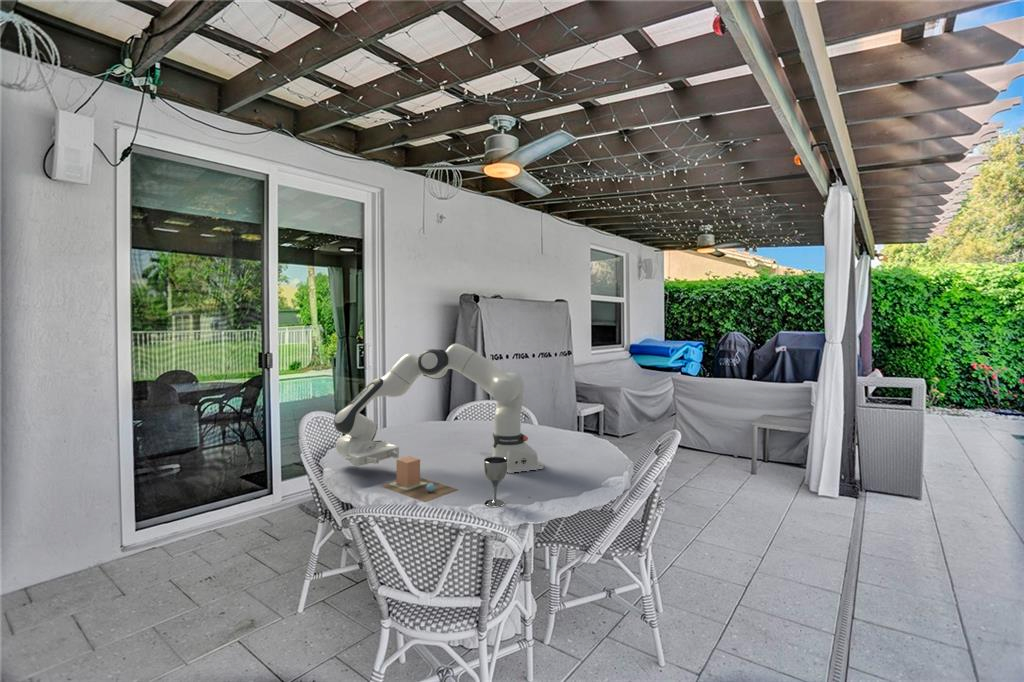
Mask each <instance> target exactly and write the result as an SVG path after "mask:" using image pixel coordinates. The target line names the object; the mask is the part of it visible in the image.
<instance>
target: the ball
mask: <svg viewBox="0 0 1024 682" xmlns="http://www.w3.org/2000/svg"><path fill="white" fill-rule="evenodd" d="M426 489H427V491H429V492H432V491H434V489H435V485H434V484H433V483H429V484H428V485H427V487H426Z"/></svg>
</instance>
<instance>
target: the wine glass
mask: <svg viewBox="0 0 1024 682" xmlns="http://www.w3.org/2000/svg"><path fill="white" fill-rule="evenodd" d="M507 464H508V460H507V459H506V458H504V457H492V456H487V457H485V458H484V459H483V467H484V474H485V477H486V479H487V480H488V481H489V482H490V483H491V485H492V488H493V499H494V500H493V499H489V500H486V501H484V505H485V504H487V505H490V506H501V505H503V504H505V503H506V502H505V501H504V500H502V499H497V492H498V486H499V484H501V482H502V481H503V480H505V477H506V475H507ZM501 500H502V501H501ZM503 501H504V502H505V503H504V502H503ZM505 505H506V504H505Z"/></svg>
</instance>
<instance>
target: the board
mask: <svg viewBox="0 0 1024 682" xmlns="http://www.w3.org/2000/svg"><path fill="white" fill-rule="evenodd" d="M429 483H433V484H434V485H435V489H434V491H432V492H429V491H427V489H426V487H427V485H428V484H429ZM380 487H381V488H384V489H387V490H389V491H393V492H395V493H398V494H401V495H403V496H407V497H409V498H412V499H415V500H418V501H420V502H423V503H426V502H429V501H432V500H436V499H437V498H438V499H439V498H440V497H443V496H445V495H448V494H452V493H454V492H456V491H459V489H458V488H454V487H452V486H448V485H445V484H442V483H439V482H435V481H432V480H429V479H426V478H423V477H420V483H419V484H416V485H413V486H410V487H404V486H401V485H398V484H396V480H395V481H391V482H390V483H385V484H382V485H380Z"/></svg>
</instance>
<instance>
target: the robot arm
mask: <svg viewBox="0 0 1024 682" xmlns="http://www.w3.org/2000/svg"><path fill="white" fill-rule="evenodd" d="M449 370H453V371H456V372H458V373H459V374H460V375H462V376H464V377H465V378H467V379H469V380H470V381H471V382H473V383H475V384H476V385H478V386H479V387H480V388H482V389H483V391H485V392H486V393H487V394H489V395H490V396H491V397H492V398H493V399H494V401H496V404H495V411H494V415H493V416H494V417H493V433H492V455H491V457H504V458H506V459H507V460H508V464H507V472H508V474H515V473H514V472H519V473H522V472H521V471H527V472H530V471H529V470H535V469H541V468H543V469H544V464H543V462H542V461H540V460H539V457H538V454H537V453H538V452H536V451H537V450H535V449H534V448H533V447H532V446H530V445H529V444H528V443H527V441H528V440H529V437H528V436H527V435H525V434H523V433H522V432H521V426H522V425H521V423H522V421H521V420H522V408H523V398H524V397H523V396H524V385H525V384H524V380H523V379H522V377H521V376H520V375H519V374H517V373H515V372H507V373H505V372H504V371H502V370H501V369H500V368H499V367H498V366H497V365H495V364H494V363H493V361H491V360H489V359H488V358H486V357H485V356H483V355H481V354H480V353H478V352H477V351H475V350H473V349H471V348H469V347H467V346H466V345H463V344H460V343H452V344H450V345H449V346H448V347H447V349H446V350H444V349H435V348H432V349H431V348H429V349H425V350H423V351H422V352H421V353H420V354H419V356H418V355H416V354H413V353H410V352H409V353H405V354H404V355H403V356H401V357H400V358H399V359H398V360H397V361H396V362H395V363H394V364H393V366H392V367H391V368H390V370H389V371H387V373H386V374H384V375H383V376H381V377H380V378H374V380H372V381H371V382H369V383H368V384H367V385H366V386H365V387H364V388H363V389H361V391H360V392H359V393H358V394H357V395H356V396H355V397H354V398H353V399H352V400H351V401H349V403H348V404H347V405H345V406H344V407H343V408H341V409H340V410H339V411H338V412H337V413H336V414H335V416H334V418H333V422H334V423H333V424H334V428H335V430H336V431H337V432H339V433H342V434H344V435H342V436H341V437H339V438H338V439H337V440H336V442H335V450H336V452H337V453H338V455H340V456H341V457H343V458H344V459H345V460H346V461H348V462H349V463H350V464H351V465H353V466H356V467H361V466H364V465H368V464H374V465H376V464H379V461H383V460H387V459H390V458H392V459H397V458H398V459H399V457H400V448H399V446H398V445H396V444H393V443H389V442H385V441H384V440H374V439H375V438H376V435H377V431H378V430H377V429H378V427H377V426H378V425H377V423H376V421H374V420H373V419H371V418H369V417H367V416H365V415H363V414H362V413H361V411H363V409H364V408H366V406H367V405H369V403H370V402H372V401H373V400H374V399H376V398H379V397H388V398H398V397H402V396H404V395H405V394H407V392H408V391H409V390H410V388H411V386H412V385H413V384H414V382H415V381H417V379H418V378H419V377H420V376H424V377H427V378H429V379H433V380H441V379H443V378H445V377H446V376H447V375H448V373H449ZM507 472H506V473H507Z"/></svg>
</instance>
